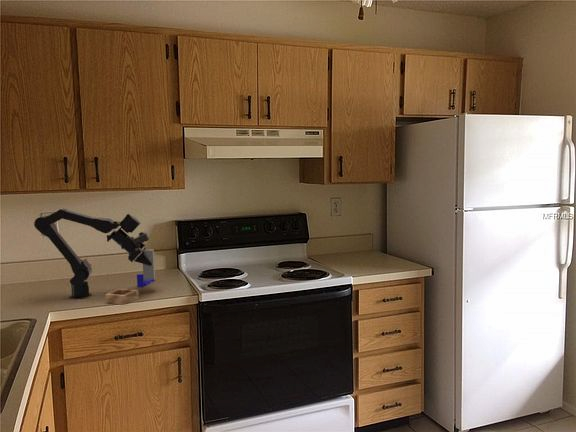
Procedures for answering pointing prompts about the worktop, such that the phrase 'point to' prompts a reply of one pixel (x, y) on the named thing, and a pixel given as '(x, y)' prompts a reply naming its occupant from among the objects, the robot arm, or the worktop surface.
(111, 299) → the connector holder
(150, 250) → the plain gray rectangular block
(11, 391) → the worktop surface
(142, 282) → the cable clip
